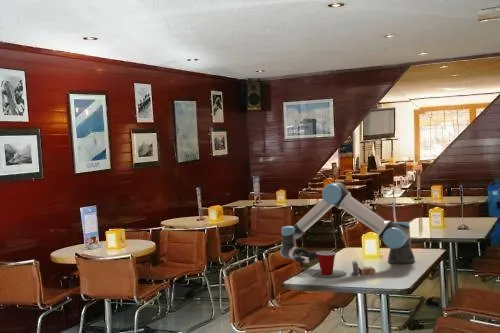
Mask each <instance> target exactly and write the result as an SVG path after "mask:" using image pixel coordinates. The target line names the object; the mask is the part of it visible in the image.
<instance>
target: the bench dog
mask: <svg viewBox="0 0 500 333" xmlns="http://www.w3.org/2000/svg"><path fill="white" fill-rule="evenodd" d="M351 264H352V274H353V275H354V276H359V272H358V267H359V264H358V261H357V260H352V261H351Z"/></svg>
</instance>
